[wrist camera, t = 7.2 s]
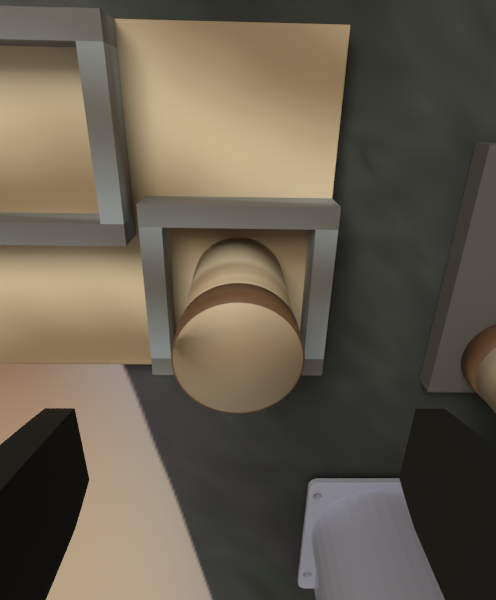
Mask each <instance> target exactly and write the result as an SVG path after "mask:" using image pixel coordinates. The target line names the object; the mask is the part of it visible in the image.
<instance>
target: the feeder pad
mask: <svg viewBox="0 0 496 600" xmlns="http://www.w3.org/2000/svg"><path fill="white" fill-rule="evenodd" d="M495 324H496V143H480V142H476V143H475V148H474V152H473V156H472V160H471V164H470V169H469V173H468V177H467V181H466V185H465V190H464V194H463V198H462V202H461V206H460V211H459V215H458V219H457V223H456V227H455V232H454V236H453V240H452V244H451V248H450V253H449V257H448V261H447V265H446V269H445V274H444V278H443V282H442V286H441V290H440V295H439V299H438V303H437V307H436V311H435V316H434V320H433V324H432V328H431V332H430V337H429V341H428V345H427V349H426V353H425V358H424V362H423V366H422V370H421V375H420V379H419V380H420V381H421V383H422V384H423V386H424V387H425V389H426V391H427V392H476V391H475V390H474V389H473V388H472V386H471V385H470V384H469V383H468V382H467V380H466V379H465V378H464V376H463V374H462V371H461V358H462V355H463V352H464V350H465V348H466V346H467V345H468V343H469V342H470V341H471V340H472V339H473V338H474V337H475V336H476V335H477V334H479V333H480V332H481V331H483V330H484V329H486V328H488V327H490V326H492V325H495Z"/></svg>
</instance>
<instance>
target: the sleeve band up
mask: <svg viewBox="0 0 496 600" xmlns="http://www.w3.org/2000/svg"><path fill="white" fill-rule="evenodd" d="M171 364H172V369H173V373H174V376H175V378H176V380H177V382H178V383H179V385H180V387H181V388H182V389H183V390H184V392H185V393H186V394H187V395H188V396H189V397H190V398H192V399H193V400H194V401H196V402H197V403H199V404H201V405H202V406H204V407H207V408H209V409H211V410H215V411H218V412H223V413H229V414H247V413H253V412H257V411H261V410H264V409H267V408H269V407H271V406H273V405H275V404H277V403H278V402H280V401H281V400H283V399H284V398H285V397H286V396H287V395H288V394H289V393H290V392H291V391H292V390H293V389H294V387H295V386H296V385H297V383H298V381H299V379H300V377H301V375H302V372H303V368H304V364H305V352H304V346H303V342H302V339H301V335H300V331H299V328H298V324H297V320H296V318H295V316H294V314H293V312H292V308H291V304H290V300H289V296H288V293H287V289H286V285H285V281H284V277H283V274H282V270H281V266H280V263H279V261H278V259H277V258H276V256H275V255H274V253H273V252H272V251H271V250H270V249H269V248H268V247H266V246H265V245H264V244H262V243H260V242H258V241H256V240H253V239H250V238H245V237H232V238H227V239H223V240H221V241H218V242H216V243H215V244H213V245H212V246H210V247H209V248H208V249H207V250H206V251H205V252H204V253H203V254H202V256H201V257H200V259H199V261H198V263H197V266H196V269H195V272H194V276H193V280H192V283H191V287H190V291H189V294H188V298H187V301H186V305H185V309H184V312H183V314H182V316H181V319H180V321H179V324H178V328H177V331H176V335H175V338H174V342H173V346H172V351H171Z"/></svg>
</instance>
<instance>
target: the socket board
mask: <svg viewBox="0 0 496 600" xmlns="http://www.w3.org/2000/svg"><path fill="white" fill-rule="evenodd" d="M349 33H350V25H337V24H297V23H258V22H219V21H180V20H141V19H114V18H112V17H111V16H110V15H108V14H107V13H105V12H104V11H102V10H101V9H100V8H64V7H26V6H0V363H10V364H11V363H12V364H13V363H14V364H18V363H21V364H152V372H153V375H174V373H173V369H172V364H171V351H172V346H173V342H174V338H175V335H176V331H177V328H178V324H179V321H180V319H181V316H182V314H183V312H184V309H185V305H186V301H187V298H188V294H189V291H190V287H191V283H192V280H193V276H194V272H195V269H196V266H197V263H198V261H199V259H200V257H201V256H202V254H203V253H204V252H205V251H206V250H207V249H208V248H209V247H210V246H212V245H213V244H215V243H216V242H218V241H221V240H223V239H227V238H232V237H245V238H250V239H253V240H256V241H258V242H260V243H262V244H264V245H265V246H266V247H268V248H269V249H270V250H271V251H272V252H273V253H274V255H275V256H276V258H277V259H278V261H279V263H280V266H281V270H282V274H283V277H284V281H285V285H286V289H287V293H288V296H289V300H290V304H291V308H292V312H293V314H294V316H295V318H296V320H297V324H298V328H299V331H300V335H301V339H302V342H303V346H304V352H305V364H304V368H303V372H302V375H314V376H322V369H323V360H324V352H325V343H326V334H327V325H328V317H329V308H330V299H331V291H332V282H333V273H334V264H335V256H336V247H337V238H338V230H339V221H340V212H341V207H340V206H339V205H338V204H337V203H336V202H335V201H334V200H333V199H332V195H333V186H334V176H335V167H336V157H337V148H338V138H339V128H340V119H341V109H342V100H343V90H344V81H345V71H346V62H347V52H348V42H349Z"/></svg>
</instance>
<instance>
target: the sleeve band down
mask: <svg viewBox="0 0 496 600" xmlns="http://www.w3.org/2000/svg"><path fill="white" fill-rule="evenodd" d="M461 371H462V374H463V376H464V378H465V379H466V380H467V382H468V383H469V384H470V385H471V386H472V388H473V389H474V390H475V391H476V392H477V394H478V395H479V396H480V397H481V398H482V399H483V400H484V401H486V403H487V404H488V405H489V406H490V407H491V409H492V410H493V411H494V412H495V413H496V324H495V325H492V326H490V327H488V328H486V329H484V330H483V331H481V332H480V333H479V334H477V335H476V336H475V337H474V338H473V339H472V340H471V341H470V342H469V343H468V345H467V346H466V348H465V350H464V352H463V355H462V358H461Z"/></svg>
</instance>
